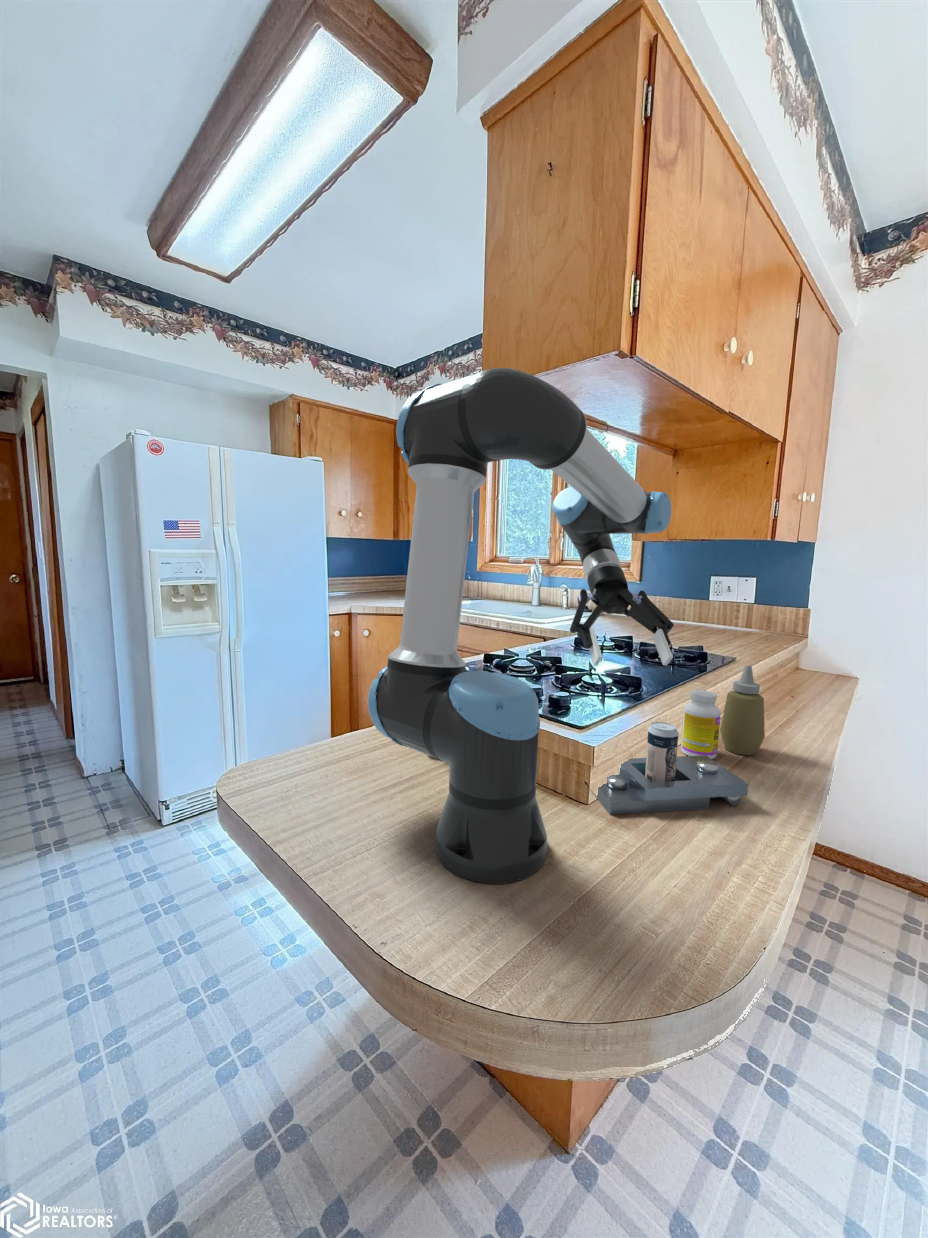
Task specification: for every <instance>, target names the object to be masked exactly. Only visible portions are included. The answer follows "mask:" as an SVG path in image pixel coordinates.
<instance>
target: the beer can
mask: <svg viewBox="0 0 928 1238" xmlns="http://www.w3.org/2000/svg"><path fill="white" fill-rule="evenodd" d="M678 742H679V732H678V730H677V727H676V725H674V724H672V723H669V722H665V721H664V722H663V721H654V722H651V724H650V725H649V726H648V728H647V742H646V744H647V745H646V753H645V754H646V757H645V758H646V769H645V777H646V778H647V779H648V780H649V781H650V782H665V781H675V770H676V757H678V756H677V754H678Z"/></svg>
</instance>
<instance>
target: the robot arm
mask: <svg viewBox="0 0 928 1238" xmlns="http://www.w3.org/2000/svg"><path fill="white" fill-rule="evenodd" d="M587 427H588V422H587V418H586V416H585V414H584V412H583V411H582V410H581V409H580V407H579V406H577V404H576V403H575V402H574V401H573V400H572V399H571V398H570V397H569V396H567V395H566V394H565V393H564V392H562V391H561V390H560V389H558V388H557V387H556V386H554V385H552V384H550V383H548V382H547V381H545V380H544V379H542V378H539V377H537V376H535V375H534V374H531V373H528V372H525V371H522V370H519V369H514V368H510V367H493V368H488V369H485V370H482V371H480V372H477V373H474V374H471V375H468V376H464V377H461V378H457V379H453V380H451V381H449V382H445V383H436V384H432V385H429V386H427V387H426V388H424V389H423V390H420V391H418V392H416V393H414V394H412V396H410V397H409V398H408V399H407V400H406V401H405V403H404V404H403V405H402V407H401V410H400V412H399V414H398V417H397V421H396V428H395V432H396V442H397V446H398V448H400V449H401V452H400V455H401V456H402V458H403V459H404V461H405V462H406V463H407V465H408V468H407V474H408V475H409V477H410V478H411V479H412V481H413V482H414V483H415V486H416V490H415V499H414V510H413V517H412V518H413V519H412V525H411V526H412V527H411V539H410V546H409V556H408V565H407V577H406V582H405V583H406V584H405V595H404V602H403V603H404V605H403V613H402V623H401V630H400V631H401V632H400V642H399V645H398V647H397V648H395V649H393V651H392V652H391V653H388V659H387V666H385V667H384V668H382V669H381V670H380V671H379V672H378V673H377V678H374V679H373V680H372V683H371V685H370V688H369V692H368V696H367V697H368V698H367V699H368V700H367V707H368V712H369V716H370V717H369V718H370V719H371V722H372V724H373V725H374V727H375V728H376V729H377V731H378V732H379V733H380V734H381V735H383V736H385V737H386V738H388V739H391V740H392V742H394V743H395V744H397V745H400V746H401V747H402V746H403V747H406V748H408V749H413V750H415V751H417V752H420V753H422V754H424V755H427V756H430V757H432V758H435V759H438V760H441V761H442V762H445V763H447V764H448V765H449V767H448V768H449V769H448V770H449V771H448V772H449V773H448V775H449V776H448V779H449V780H448V785H449V786H448V794H447V797H446V800H445V802H444V806H443V809H442V811H441V813H440V817H439V820H438V822H437V826H436V828H435V829H436V830H435V842H434V843H435V853H436V856H437V858H438V860H439V861H440V863H441V864H442V865H443V866H444V867H445V868H446V869H447V870H448V871H450V872H451V873H454V875H457V876H459V877H460V878H463V879H466V880H469V881H473V882H476V883H477V882H478V883H482V884H483V883H484V884H507V883H513V882H517V881H521V880H524V879H526V878H528V877H530V876H533V874H535V873H537V872H538V871H539V870H540V869H541V868H542V867H543V865H544V864H545V862H546V859H547V855H548V854H547V853H548V835H547V830H546V827H545V824H544V819H543V816H542V814H541V810H540V806H539V803H538V801H537V797H536V795H537V794H536V793H537V773H538V754H539V753H538V752H539V751H538V750H539V733H540V732H539V731H540V727H541V721H540V714H539V713H540V712H539V711H540V710H539V698H538V695H537V694H536V692H535V691H534V689H533V687H531V686H530V685H529V684H528V683H526V682H525V681H523V680H522V679H520V678H517V677H514V676H513V675H512V676H511V675H508V674H505V673H501V672H497V671H494V672H489V671H487V670H470V671H469V670H468V671H466V662H465V660H464V659H463V658H462V657H461V655H460V654H459V652H458V644H459V643H458V642H459V634H460V624H461V615H462V614H461V612H462V605H463V596H464V595H463V594H464V586H465V577H466V569H467V559H468V551H469V543H470V542H469V541H470V531H471V523H472V515H473V505H474V496H475V492H476V491H478V489H481V487H482V486H484V485H485V483H486V479H487V471H488V470H487V469H488V463H492V462H498V461H503V460H521V461H525V462H529V463H530V464H531V465H533V466H534V467H535V468H537V469H539V470H543V471H544V470H546V471H549V470H550V471H551V472H553V473H554V474H556V475H557V476H558V477H559V478H560V479H561V480H563V481H564V482H565V483H566V484H567V485H569V487H566V488H564V489H563V490H561V491H560V492H559V493H558V494H557V495H556V496H555V498H554V500H553V502H552V504H551V505H552V507H551V508H552V509H551V510H552V511H553V514H554V516H555V518H556V520H557V523H558V524H559V525H560V526H561V528H562V530H563V531H564V532H565V534H566V535H567V536H568V538H569V539H570V541H571V543H572V544H573V546H574V548H575V549H576V550H577V553H578V556H579V559H580V562H581V565H582V569H583V572H584V575H585V579H586V581H587V585H588V589H589V592H587V589H584V588H582V589H581V590H580V592H579V595H578V596H577V604H578V605H577V608H576V610H575V614H574V617H573V619H572V621H571V624H570V627H569V631H570V633H572V634H575V633H577V634H578V638H580V639H581V640H582V643H583V646H584V648H585V649H588V650H589V654H590V659H591V661H592V665H593V666H598V665H599V664H600V662H601V660H602V658H603V655H602V652H601V648H600V644H599V641H598V637H597V634H596V630H595V628H594V627H593V628H592V626H593V625H594V624H595V623H596V621H597V620H598V618H599V617H600V616H601V615H602V614H603V612H604V613H606V614H609V615H611V614H618V615H623V614H624V616H626V617H628V618H632V620H633V619H634V620H635V621H636V622H637V623H639V624H640V625H641V626H642V627H644V628H645V629H647V630H648V631H649V632H651V633H652V634H653V636H652V640H653V642H654V645H655V648H656V651H657V653H658V657H659V659H660V660H661V665H663V666H668V665H669V663H671V660H672V659H673V658H674V656H673V653H672V650H671V649H670V648H671V647H670V646H671V640H670V638H669V635H668V634H669V633H670V631H671V630H672V629H673V628H674V625H675V624H674V623H673V622H672V621H671V619H670V618H669V617H668V616H666V614H664V613H663V611H662V610H660V609H659V608H658V607H657V605H656V604H654V602H652V601H651V599H650V598H649V597H648V595H647V594H646V592H645V591H644V590H639V592H638V593H632V591H630V590H629V586H628V585H629V584H628V581H627V578H626V576H625V573H624V571H623V567H622V564H621V561H620V560H619V557H618V555H617V552H616V550H615V546H614V544H613V541H612V538H611V535H612V534H615V535H616V534H617V535H618V534H619V535H620V534H621V535H623V534H626V535H627V534H629V535H630V534H632V535H633V534H636V535H637V534H645V535H647V534H655V533H657V534H658V533H662V532H665V530H667V528H668V527H669V525H670V522H671V517H672V501H671V498H670V496H669V494H668V493H667V492H665V491H664V492H663V491H654V490H653V491H646V490H645V489H644V488H643V487H642V486H641V485H640V484H639V482H637V481H636V479H634V477H633V476H632V475H631V474H630V473H629V472H628V471H627V470H626V469H625V468H624V467H623V466H622V464H621V463H619V461H618V460H617V459H616V458H615V457H614V456H613V455H612V454H611V452H609V450H608V449H607V448H606V447H605V446H604V445H603V444H602V443H601V442H600V441H599V440H598V438H597V437H595V435H594V434H593V433H591V431H590V430H589V429H588V428H587ZM590 601H591V602H592V603H593V604H594V605H596V607H595V608H594V609H593V611H592V613H591V614H590V615H589V616H588V618H587V619H586V620H585V621H584V623H581V621H582V618H583V615H584V611H585V609H586V605H587V604H588V603H589V602H590ZM629 606H630V608H629V609H628V607H629Z"/></svg>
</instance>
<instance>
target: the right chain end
mask: <svg viewBox="0 0 928 1238" xmlns="http://www.w3.org/2000/svg"><path fill="white" fill-rule="evenodd" d="M628 759H629V758H628ZM645 769H646V757H633V758H631V759H629V760H628V761H626V762H624V763H623V764H621V768H620V774H619V775H620V776H623V777H625V778H626V779H627V783H628V784H629V785H630V786H631V787H632V789H633V790H634V791H635V792H636V793H637V794H638V795H639V796H640V797H641V798H642V799H643V800H644V801H650V800H670V799H689V798H709V797H710V798H722V799H724V800H725V801H726V802H728V803H729V804H730V805H731V806H734V807H738V806H740V804H741V803H742V802H743V801H742V800H743V797H745V796H748V793H749V783H748V782H747V781H745V780H744V779H743V778H741V777H739V776H737V775H736V774H735V773H733V772H732V771H731V770H729V769H728V768H726V767H724V766H723V765H721V764H720V763H719V762H717V761H715V760H714V759H711V758H709V757H708V756H706V755H705V756H687V755H685V756H683V755H682V756H677V757H676V770H675V779H676V780H677V781H665V782H650V781H649V780H648V779H647V778H646V777H645V776H644V775H643V774H645Z"/></svg>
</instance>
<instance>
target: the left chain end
mask: <svg viewBox="0 0 928 1238" xmlns="http://www.w3.org/2000/svg"><path fill="white" fill-rule="evenodd" d="M643 775H644V776H645V774H643ZM675 781H677V780H676V779H675ZM596 799H597V800H598V802H599V803H600V804H601V805H602V806H603V808H604V809H605V810H606V811H607V812H608V814H609V815H625V814H626V815H628V814H629V815H630V814H644V813H645V814H646V813H647V814H648V813H663V812H681V811H682V812H683V811H701V810H710V801H711V800H710V799H711V797H709V798H689V799H670V800H650V801H644V800H643V799H642V798H641V797H640V796H639V795H638V794H637V793H636V792H635V791H634V790H633V789H632V787H631V786H630V785H629V784H628V783H627V779H626V778H625V777H623V776H620V775H611V776H609V777H607V783H606V784H603V785H602V786H601V787H599V788H598V795H597V797H596Z"/></svg>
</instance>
